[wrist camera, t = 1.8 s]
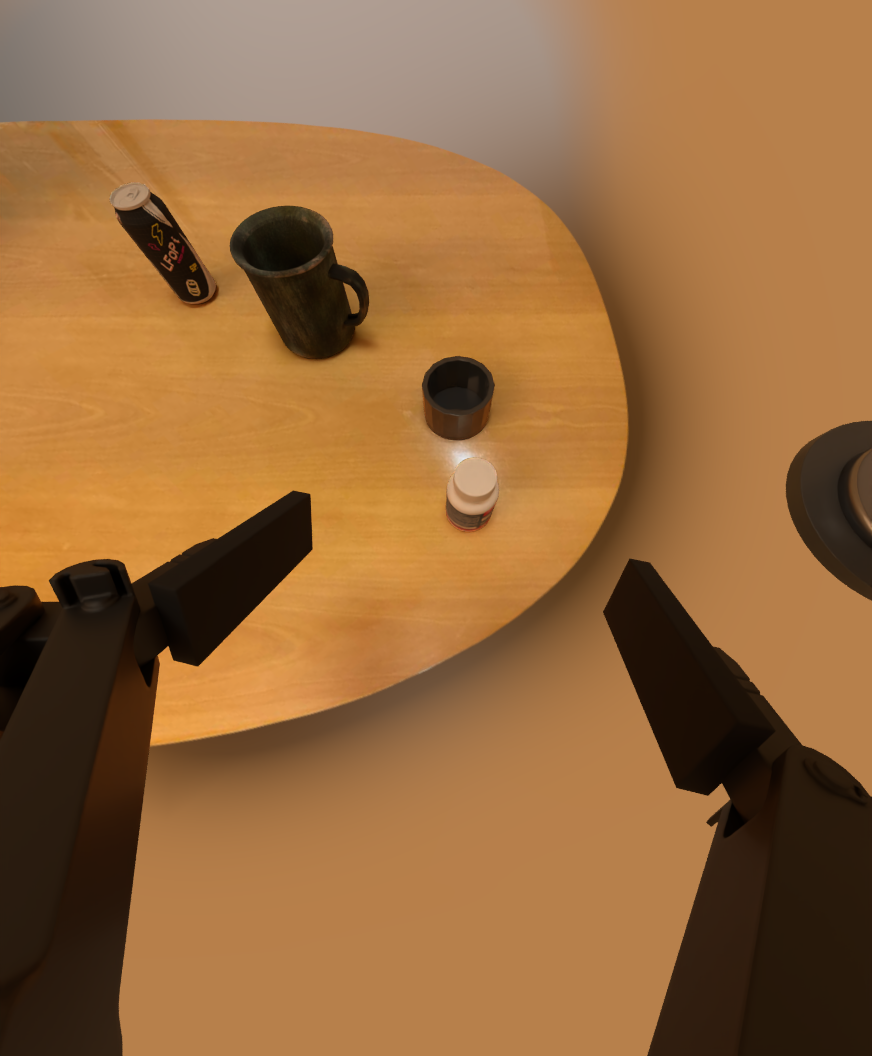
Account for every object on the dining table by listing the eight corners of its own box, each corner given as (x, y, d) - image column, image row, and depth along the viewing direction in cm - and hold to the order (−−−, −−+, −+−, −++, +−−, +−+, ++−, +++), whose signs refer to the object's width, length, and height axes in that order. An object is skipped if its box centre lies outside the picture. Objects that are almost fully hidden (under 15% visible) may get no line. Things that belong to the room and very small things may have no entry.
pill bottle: (484, 538, 38) (496, 510, 29) (440, 525, 38) (439, 494, 30) (495, 496, 39) (510, 459, 31) (453, 485, 40) (456, 445, 31)
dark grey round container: (493, 391, 44) (499, 362, 39) (482, 445, 41) (487, 420, 37) (432, 381, 44) (431, 351, 40) (418, 433, 42) (415, 408, 37)
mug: (299, 297, 50) (257, 196, 38) (391, 318, 48) (375, 220, 37) (267, 353, 46) (210, 262, 35) (364, 377, 45) (337, 290, 33)
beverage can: (225, 283, 51) (162, 181, 39) (209, 311, 49) (138, 213, 38) (191, 277, 51) (119, 175, 40) (174, 304, 50) (93, 206, 38)
